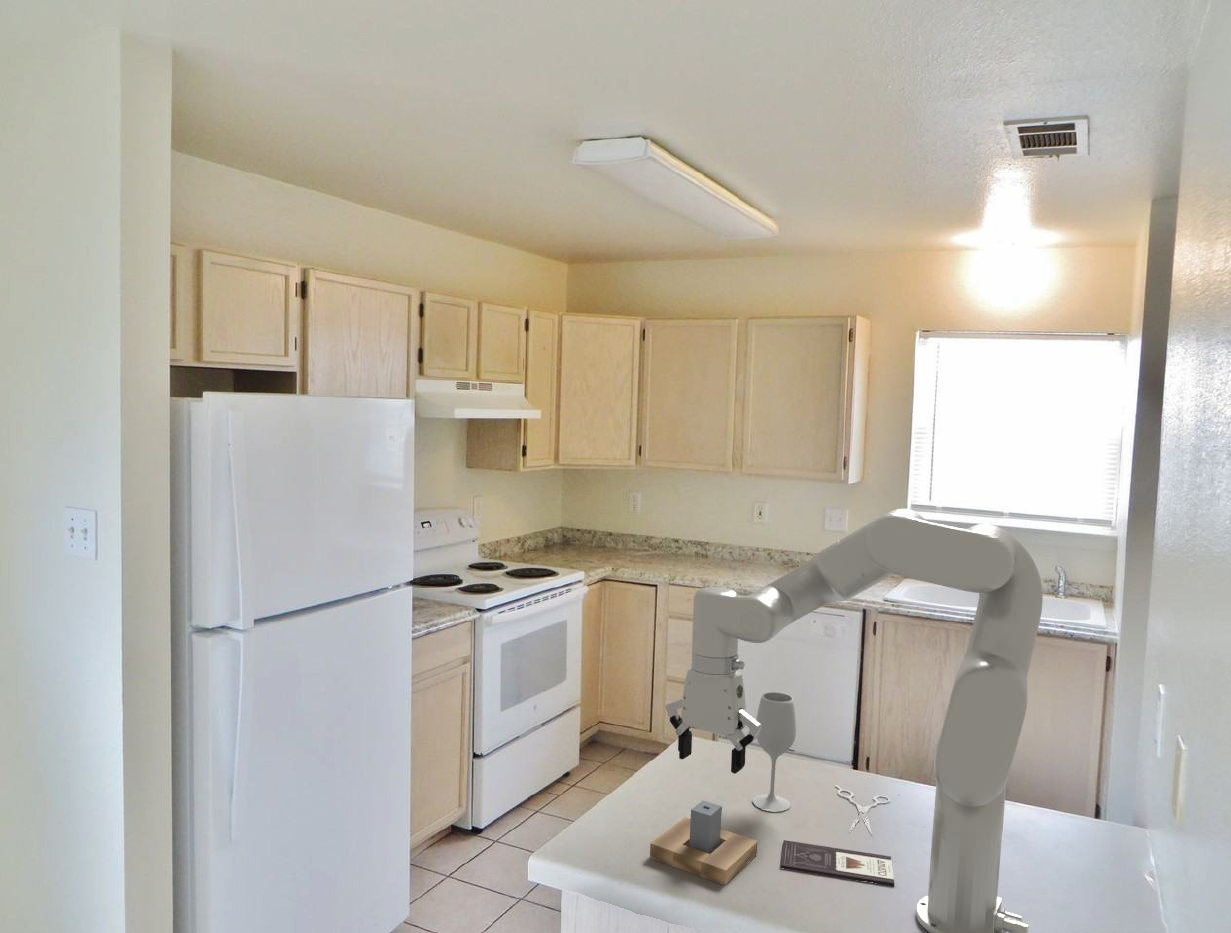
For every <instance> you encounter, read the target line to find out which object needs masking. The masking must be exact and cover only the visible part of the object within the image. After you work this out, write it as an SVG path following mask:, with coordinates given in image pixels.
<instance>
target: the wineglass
mask: <svg viewBox="0 0 1231 933" xmlns="http://www.w3.org/2000/svg"><path fill="white" fill-rule="evenodd" d="M795 708H796V707H795V702H794V697H793V696H792V695H790V694H788V693H785V692H779V691H767V692H764V693H762V694H761V697H760V701H759V704H758V709H757V714H756V719H755V720H756V721H757V722H759V723H760V724H761V725H762V728H761V730H760V732H759V733H758V735H757V736H756V741H757V743H758V744H759V745H760V747H761V749H762V750H763V751H765V753H766V754H767V755H768V756H769V757H770V760H771V770H770V771H771V772H770V789H769V793H768V794H759V795H756V796H754V797H753V799H752V804H753V803H754V805H755V806H757V807H759V808H761V809H770V810H775V811H778V810H779V811H781V810H785V809H788V810H790V809H791V802H790V801H789V800H788V799H786V798H785V797H781V796H779V795H776V794H775V780H776V778H775V777H776V765H777V763H776V762H777V761H778V760H777V759H778V757H780V756H782V755H783V754H784V753H785V754H786V752H787V751H788V750H789V749H790V748H791V747H792V746H793V745H794V742H795V740H796V736H797V723H796V722H797V721H796V709H795ZM754 805H753V806H754ZM755 806H754V807H755ZM757 807H756V808H757ZM789 808H790V809H789ZM761 809H760V810H761Z"/></svg>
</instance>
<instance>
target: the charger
mask: <svg viewBox="0 0 1231 933" xmlns="http://www.w3.org/2000/svg"><path fill="white" fill-rule="evenodd" d="M722 810H723V805H719V804H716V803H713V802H709V801H708V800H707V801H706V800H701V801H700V802H699V803H698V804H697V805H695V806H694V807H692V809H690V819H691V821H690V841H689V847H691V848H694V849H697V850H700V851H703V852H705V853H708V854H711V853H712V852H713V851H714V850H715V849H717V848H718V847H719V846H720V835H721V829H722V815H723V814H722V813H723V811H722Z"/></svg>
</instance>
